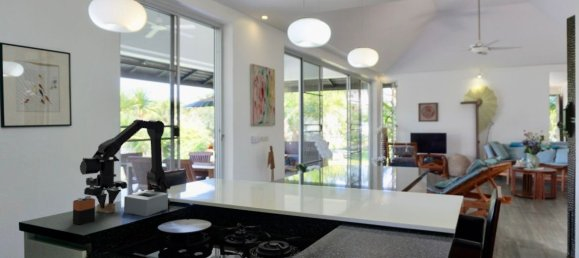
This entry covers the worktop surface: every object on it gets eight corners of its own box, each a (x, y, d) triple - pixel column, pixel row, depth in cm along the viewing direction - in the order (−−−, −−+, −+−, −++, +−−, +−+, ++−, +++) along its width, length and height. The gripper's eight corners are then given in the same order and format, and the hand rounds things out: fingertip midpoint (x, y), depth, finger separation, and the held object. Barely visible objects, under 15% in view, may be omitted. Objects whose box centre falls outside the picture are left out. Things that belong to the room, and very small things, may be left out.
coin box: (146, 205, 182) (146, 190, 182) (167, 208, 178) (168, 193, 177) (124, 212, 169) (124, 196, 168) (146, 216, 165) (146, 200, 164)
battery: (95, 221, 155) (95, 196, 154) (79, 225, 149) (79, 199, 148) (88, 219, 157) (88, 195, 156) (72, 223, 151) (72, 198, 150)
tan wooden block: (104, 208, 173) (104, 202, 172) (115, 210, 171) (115, 204, 170) (97, 211, 169) (97, 204, 169) (108, 212, 167) (108, 206, 167)
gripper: (109, 167, 180) (108, 200, 181) (74, 173, 163) (74, 209, 164) (128, 169, 176) (127, 203, 177) (94, 176, 159) (94, 213, 160)
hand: (106, 207), depth 170 cm, fingers closed on tan wooden block, 4 cm apart
